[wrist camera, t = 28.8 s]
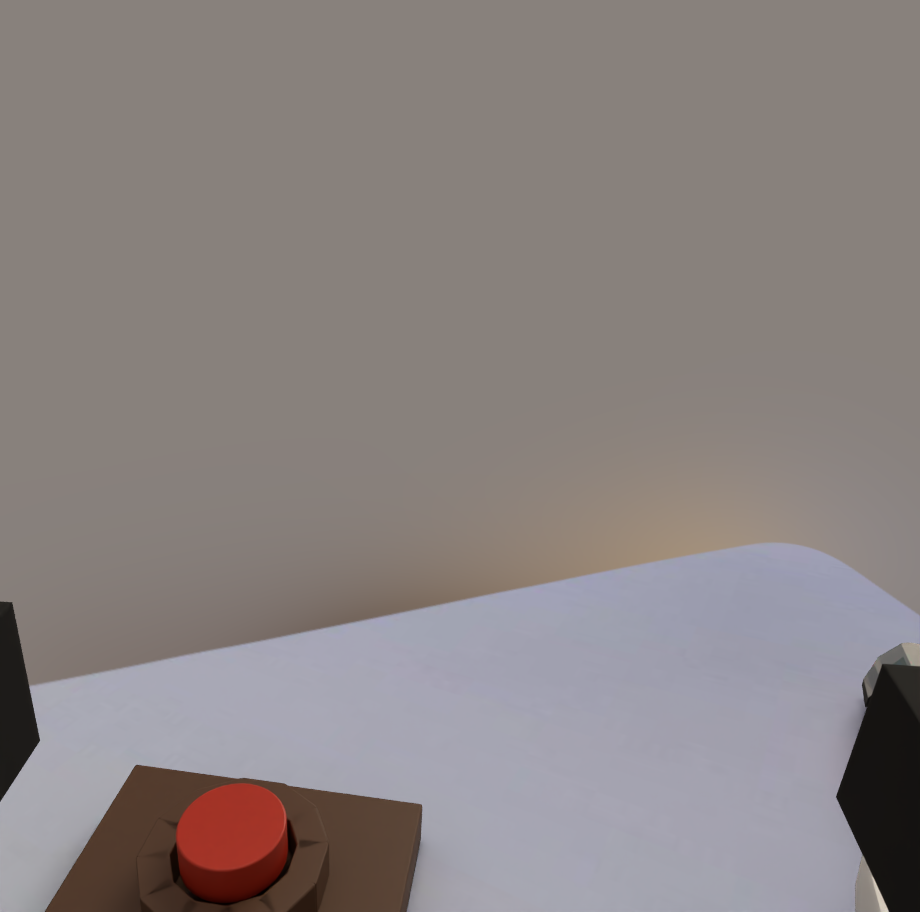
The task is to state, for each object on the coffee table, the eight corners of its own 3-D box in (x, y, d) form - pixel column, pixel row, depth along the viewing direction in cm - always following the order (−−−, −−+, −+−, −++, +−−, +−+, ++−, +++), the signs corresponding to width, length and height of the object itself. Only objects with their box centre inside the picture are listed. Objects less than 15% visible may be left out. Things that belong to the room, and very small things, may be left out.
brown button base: (10, 1021, 30) (-10, 947, 28) (140, 799, 39) (131, 732, 37) (373, 1082, 29) (374, 1009, 27) (420, 839, 38) (424, 772, 36)
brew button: (160, 895, 31) (156, 861, 30) (204, 808, 34) (201, 775, 34) (268, 912, 30) (266, 878, 30) (300, 821, 34) (299, 789, 33)
